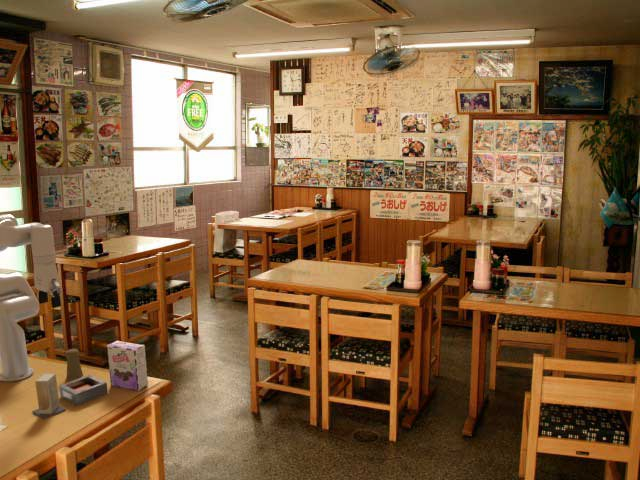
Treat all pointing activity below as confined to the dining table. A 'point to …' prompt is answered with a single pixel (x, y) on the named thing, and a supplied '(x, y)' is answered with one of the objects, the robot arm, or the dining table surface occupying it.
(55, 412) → the coaster
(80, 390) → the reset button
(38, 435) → the dining table surface
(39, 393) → the skincare box
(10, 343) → the robot arm
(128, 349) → the candy box
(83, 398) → the box
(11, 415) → the dining table surface
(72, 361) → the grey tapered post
